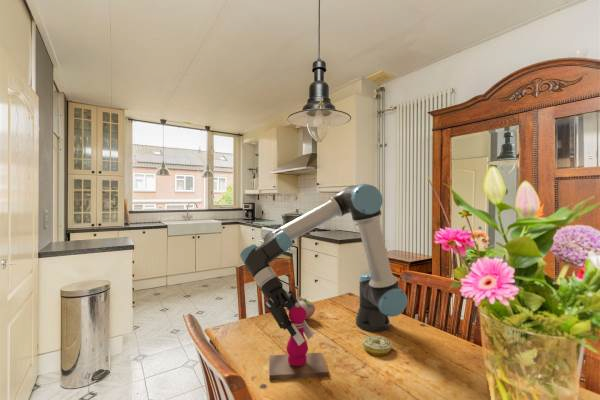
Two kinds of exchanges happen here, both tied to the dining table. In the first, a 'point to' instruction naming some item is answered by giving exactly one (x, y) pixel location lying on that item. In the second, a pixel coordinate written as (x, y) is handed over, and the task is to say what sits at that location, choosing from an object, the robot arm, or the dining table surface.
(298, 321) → the pepper mill
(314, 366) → the walnut stand
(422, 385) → the dining table surface
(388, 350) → the decorated donut
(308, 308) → the decorative fruit
